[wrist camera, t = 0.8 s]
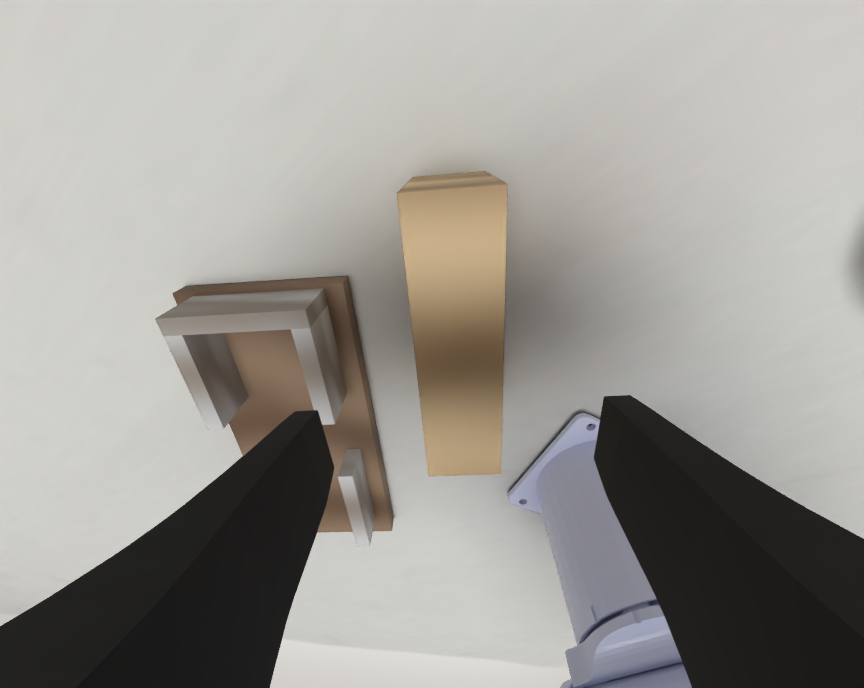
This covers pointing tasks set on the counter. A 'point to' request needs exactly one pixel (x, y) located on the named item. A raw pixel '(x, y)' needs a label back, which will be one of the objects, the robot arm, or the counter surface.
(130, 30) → the counter surface
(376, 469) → the board
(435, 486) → the counter surface
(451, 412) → the oak slat
